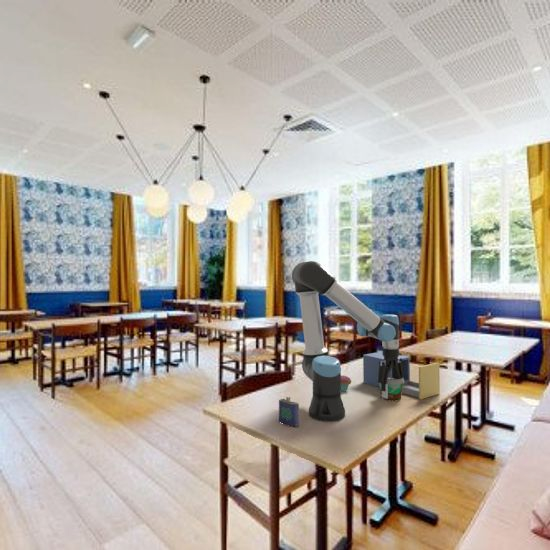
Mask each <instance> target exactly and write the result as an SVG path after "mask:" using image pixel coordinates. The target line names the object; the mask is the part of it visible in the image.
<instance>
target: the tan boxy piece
mask: <svg viewBox="0 0 550 550" xmlns="http://www.w3.org/2000/svg"><path fill="white" fill-rule="evenodd" d="M440 384H441V383H440V362H433V363H430V364H426V365H425V364H424V365H421V366H418V382H417V381H413V380H411V379H410V380H406V381H404V383H403V386H402V394H406V395H409V396H411V397H416V398H418V399H419V400H423V399H426V398H429V397H433V396H437V395H439V394H440V393H441V391H440V390H441V388H440V386H441V385H440Z"/></svg>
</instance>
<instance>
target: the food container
mask: <svg viewBox="0 0 550 550" xmlns="http://www.w3.org/2000/svg"><path fill="white" fill-rule="evenodd" d="M377 380H378V379H377ZM403 383H404V379H403V378H402V379H396V378H391V377H389V378H388V379H387V382H386V384H388V399H386V398H383V397H382V390H381V383H379V386H380V387H379V394H380V398H381V399H382V398H383V399H382V400H385V401H389V400H391V402H396V401H395V400H398V401H400V400H401V399H402V395H403V393H402V386H403ZM392 400H393V401H392Z"/></svg>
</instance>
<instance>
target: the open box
mask: <svg viewBox="0 0 550 550" xmlns="http://www.w3.org/2000/svg"><path fill="white" fill-rule="evenodd" d="M398 358H401V359H402V367H403V374H404V381H406V380H410V381H411V373H410V372H411V370H410V367H411V366H410V363H411V361H410V360H411V359H410V356H405V355H401V354H399V356H398ZM362 359H363V360H362V361H363V363H362V365H363V367H362V368H363V370H362V371H363V378H362V379H363V383H364V382H365V383H364V384H367V383H368V385H371V386H374V385H375V386H374V387H377V386H378V388H380V386H379V383H378V380H377V379H378V375H379V361H383V360H384V356H383V355H382V351H378V352H373V353H372V352H371V353H367V354H366V353H365V354H363V355H362ZM386 368H387V367H386ZM400 376H401V375H400ZM389 377H391V378H395V375H394V372H393V369H392V368H391V370H390V371H389V375H388V378H389Z"/></svg>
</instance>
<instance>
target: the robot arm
mask: <svg viewBox="0 0 550 550" xmlns="http://www.w3.org/2000/svg"><path fill="white" fill-rule="evenodd" d="M291 280H292V282H293V284H294V290H295V294H296V295H297V296H298V297H299V302H300V303H299V305H300V313H301V321H302V330H303V338H304V346H305V348H304V350H303V351H302V360H301V361H302V362H301V368H302V371H303V373H304V375H305V377H307V378H309V380H310V381H312V398H311V400H310V405H309V407H308V415H309V417H310V418H311V417H312V418H311V419H313V418H314V420H316V419H317V420H316V421H320V420H322V422H337V421H340V420H343V419H344V418H345V417H346V409H345V405H344V403H343V399H342V397H341V396H342V395H341V394H342V393H341V392H342V391H341V376H342V374H341V373H342V372H341V371H342V368H341V361H340V360H339V359H338V358H337V357H334V356H330V355H329V354H330V353H329V349H328V348H327V347H326V346H325V342H324V341H325V340H324V334H323V333H324V332H323V324H322V317H321V314H322V313H321V305H320V299H319V298H320V297H319V294H320V295H321V296H325V297H326V298H328V299H329V300H330V301H332V302H333V303H334V304H335V305H336V306H338V307H339V309H341V310H342V311H344V313H346V314H348V316H350V317H351V318H352V319H353V320H355V321H356V322H357V323H356V331H357V334H358V335H359V337H370V338H374V339H377V340H379V341H381V343H382V345H381V346H382V351H381V352H382V355H383V356H384V360H383V361H379V375H378V383H381V390H382V397H383V398H386V399H388V384H386V382H387V379H388V375H389V371H390V370H391V368H392V369H393V372H394V375H395V378H396V379H402V378H403V379H404V374H403V367H402V359H401V358H398V356H399V355H400V349H399V347H400V342H399V341H400V321H399V316H398V315H396V314H388V313H387V314H383V315H382V316H381V318H380V317H379V315H377V314H376V313H375V312H373V310H371V309H370V308H369V307H368V306H366V305H365V303H363V302H362V301H360V300H359V299H358V298H357V297H356V296H355V295H353V294H352V293H351V292H350V291H349V290H348V289H346V288H345V287H344V286H343V285H342V284H341V283H339V282H338V280H337V277H336V276H335V275H334V274H332V272H330V270H328V269H327V268H326V267H325V266H323V265H322V264H321V263H319V262H317V261H314V260H313V261H312V260H310V261H309V260H308V261H303V262H300V263H298V264H296V265H295V266H294V268H293V269H292V272H291ZM386 367H387V368H386ZM400 375H401V376H400Z"/></svg>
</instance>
